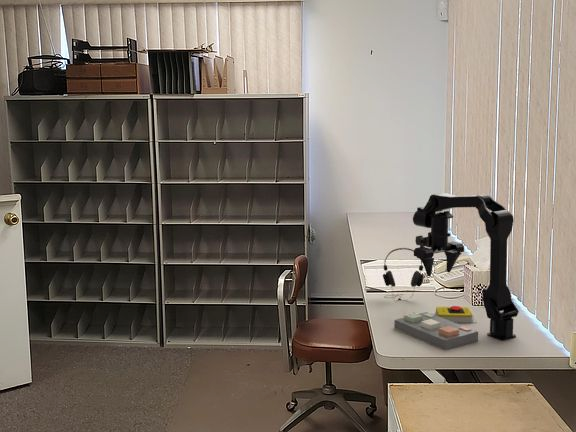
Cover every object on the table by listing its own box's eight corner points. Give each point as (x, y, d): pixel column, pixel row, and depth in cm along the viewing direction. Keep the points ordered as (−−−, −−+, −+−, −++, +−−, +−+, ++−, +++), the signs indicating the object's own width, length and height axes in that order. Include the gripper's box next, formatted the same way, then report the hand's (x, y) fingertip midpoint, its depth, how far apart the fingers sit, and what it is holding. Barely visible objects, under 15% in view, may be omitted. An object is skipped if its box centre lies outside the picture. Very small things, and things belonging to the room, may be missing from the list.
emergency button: (477, 312, 222) (432, 311, 223) (477, 324, 223) (431, 323, 224) (473, 303, 231) (429, 303, 232) (472, 315, 232) (429, 315, 233)
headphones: (421, 294, 256) (422, 244, 252) (424, 303, 245) (425, 250, 241) (381, 294, 257) (382, 243, 254) (382, 303, 246) (383, 250, 243)
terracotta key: (458, 335, 204) (458, 329, 204) (448, 338, 202) (448, 332, 201) (448, 332, 207) (448, 325, 207) (438, 334, 205) (439, 328, 205)
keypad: (478, 340, 207) (478, 330, 206) (445, 349, 199) (445, 339, 199) (425, 320, 226) (426, 311, 226) (394, 328, 219) (394, 318, 218)
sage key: (422, 321, 217) (422, 315, 217) (412, 324, 215) (412, 318, 215) (413, 318, 221) (413, 312, 221) (404, 320, 219) (404, 314, 218)
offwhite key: (440, 328, 211) (440, 322, 210) (430, 331, 208) (430, 325, 208) (430, 324, 214) (430, 319, 214) (420, 327, 212) (421, 321, 212)
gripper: (442, 223, 239) (442, 265, 242) (403, 229, 230) (402, 273, 232) (465, 228, 230) (464, 272, 232) (425, 234, 220) (424, 280, 223)
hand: (438, 274), depth 230 cm, fingers open, 9 cm apart
